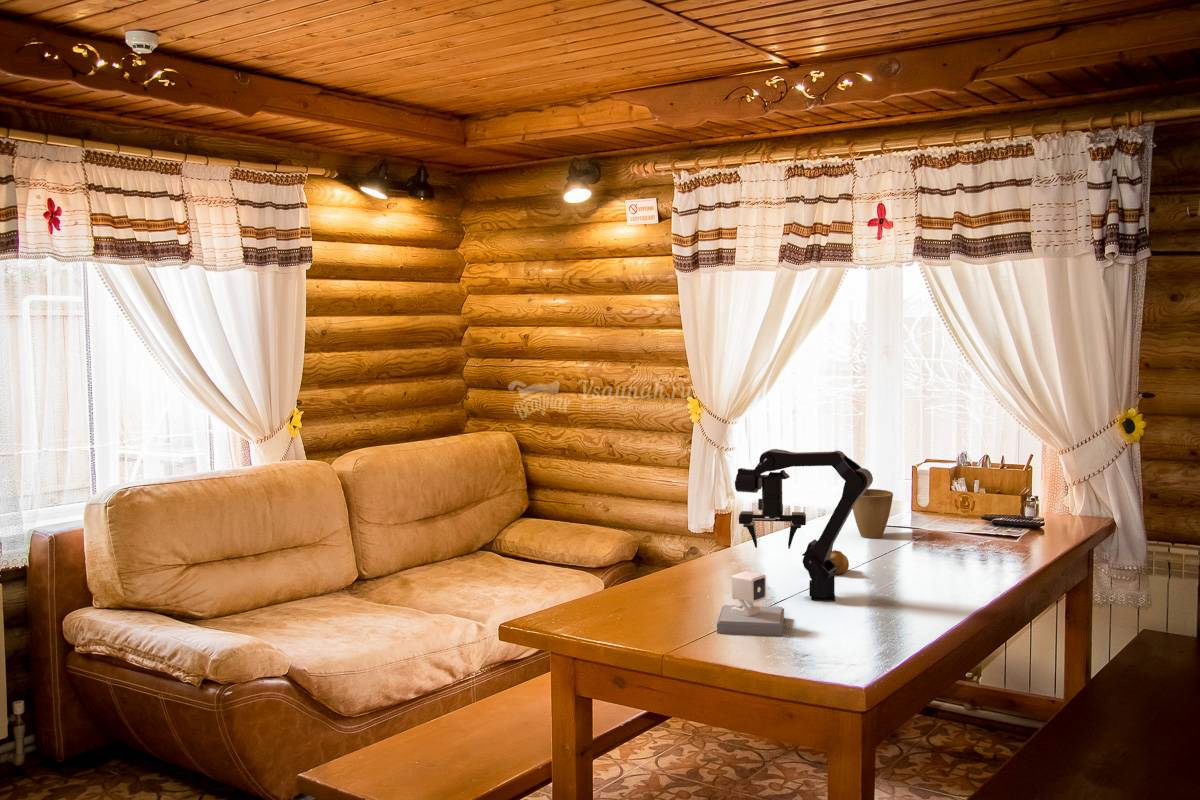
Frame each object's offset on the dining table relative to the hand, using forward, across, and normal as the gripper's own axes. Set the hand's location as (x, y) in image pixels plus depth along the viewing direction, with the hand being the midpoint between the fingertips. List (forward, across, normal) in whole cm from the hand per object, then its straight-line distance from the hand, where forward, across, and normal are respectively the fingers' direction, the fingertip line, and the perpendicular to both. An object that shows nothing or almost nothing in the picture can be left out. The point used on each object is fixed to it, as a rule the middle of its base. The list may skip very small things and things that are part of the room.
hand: (772, 548), depth 299 cm
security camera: (+10, +5, +32) cm, 34 cm away
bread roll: (+13, -16, -28) cm, 35 cm away
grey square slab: (+13, +4, +33) cm, 36 cm away
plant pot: (+13, -31, -83) cm, 90 cm away
